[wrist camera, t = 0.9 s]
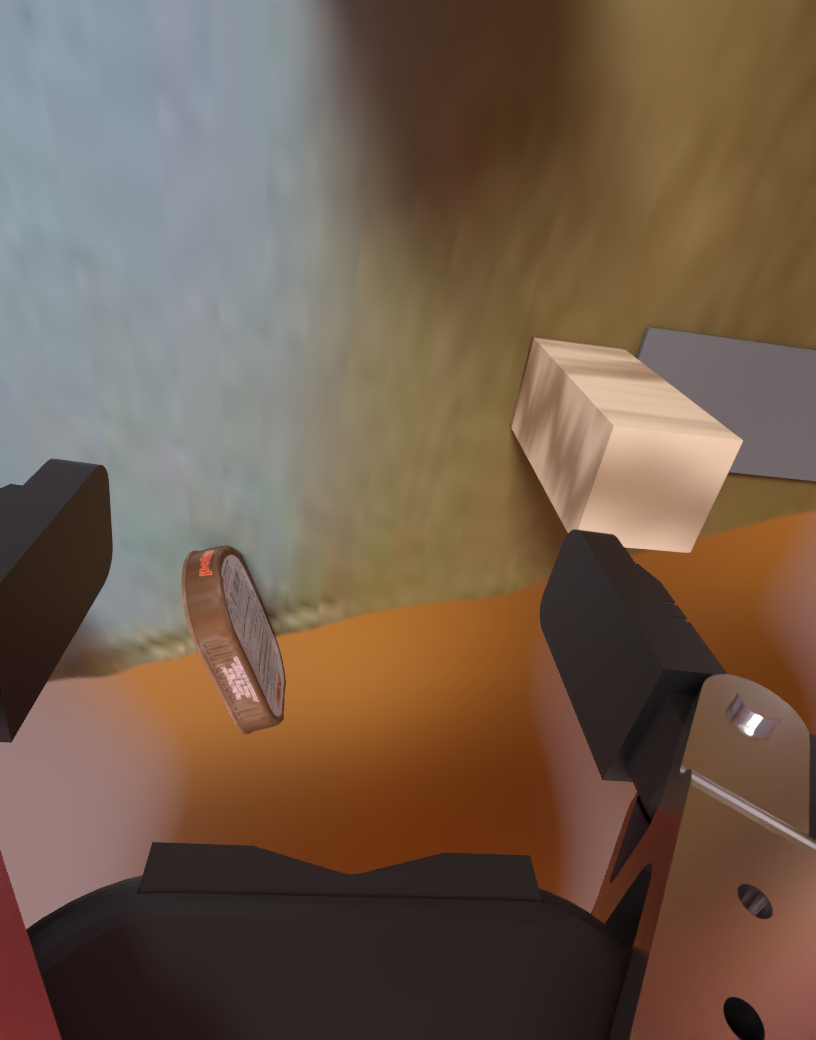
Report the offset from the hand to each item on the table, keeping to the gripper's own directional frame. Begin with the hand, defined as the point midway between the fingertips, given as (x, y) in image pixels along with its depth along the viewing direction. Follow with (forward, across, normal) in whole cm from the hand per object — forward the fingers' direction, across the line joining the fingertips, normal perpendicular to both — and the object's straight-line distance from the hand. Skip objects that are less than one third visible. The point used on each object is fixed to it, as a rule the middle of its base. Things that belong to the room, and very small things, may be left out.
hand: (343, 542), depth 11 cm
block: (+28, -15, +4) cm, 32 cm away
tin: (+29, +4, +25) cm, 38 cm away
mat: (+28, -27, +4) cm, 39 cm away
